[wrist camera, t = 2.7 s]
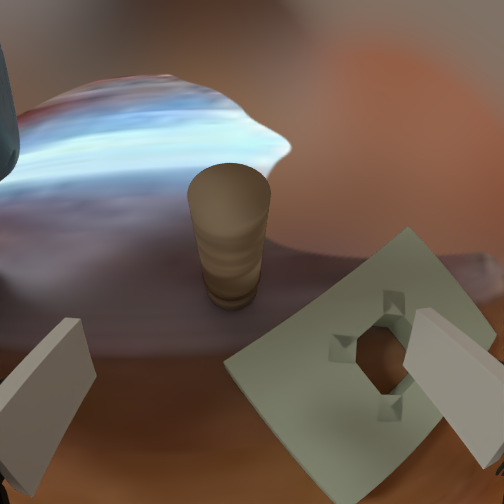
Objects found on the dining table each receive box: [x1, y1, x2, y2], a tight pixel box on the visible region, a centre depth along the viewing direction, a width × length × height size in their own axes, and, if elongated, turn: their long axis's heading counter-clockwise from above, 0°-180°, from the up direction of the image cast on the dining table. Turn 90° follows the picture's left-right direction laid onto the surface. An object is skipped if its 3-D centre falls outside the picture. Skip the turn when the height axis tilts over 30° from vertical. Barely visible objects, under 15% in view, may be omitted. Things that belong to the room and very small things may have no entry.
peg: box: [187, 163, 271, 310], centre depth 19 cm, size 4×4×12 cm
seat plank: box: [223, 226, 497, 504], centre depth 21 cm, size 20×14×3 cm
